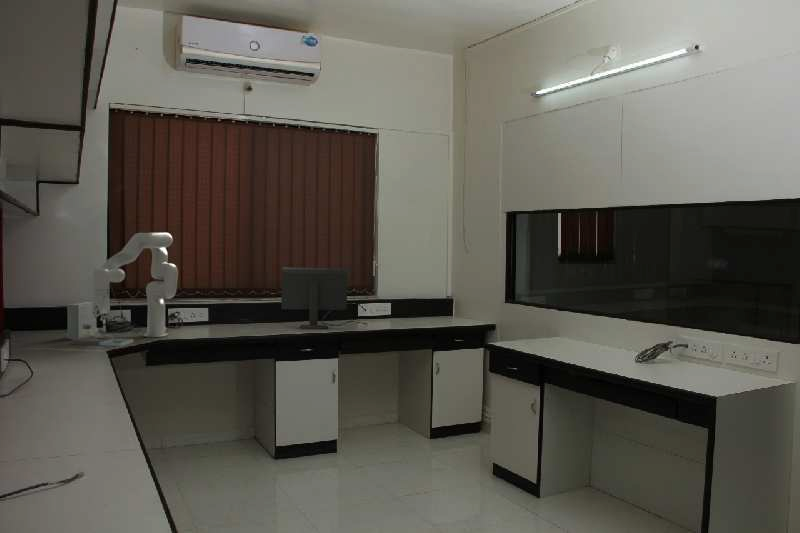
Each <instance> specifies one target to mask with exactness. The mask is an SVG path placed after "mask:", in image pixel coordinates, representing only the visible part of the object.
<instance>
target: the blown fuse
mask: <svg viewBox="0 0 800 533" xmlns="http://www.w3.org/2000/svg"><path fill="white" fill-rule="evenodd" d="M105 319H106V316H105V315H102V320H103V328H98V333H100V334H107V329H106V327H105V325H106V323H105Z"/></svg>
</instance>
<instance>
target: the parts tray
mask: <svg viewBox="0 0 800 533" xmlns="http://www.w3.org/2000/svg"><path fill="white" fill-rule="evenodd" d="M132 343H134V339H133V338H115V339H110V340H107V341H103V342H99V345H98V346H103V347H105V346H106V347H122V346H125V345H129V344H132Z"/></svg>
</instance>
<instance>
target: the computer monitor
mask: <svg viewBox="0 0 800 533" xmlns="http://www.w3.org/2000/svg"><path fill="white" fill-rule="evenodd" d="M348 272H349V270H348V268H335V267H334V268H331V267H330V268H329V267H328V268H325V267H322V268H321V267H286V266H285V267H284V266H283V267H282V268H281V296H280V297H281V299H280V300H281V301H280V302H281V303H280V304H281V306H280V307H281V310H309V317H308V318H309V319H308V320H309V323H308V324H307V323H305V324H304V323H303V324H301V325H299V329H300V328H320V329H319V330H326V329H328V326H327V325H328V324H319V323H318V321H319V320H318V318H319V315H318V314H319V310H322V311H347V310H348V305H347V304H348V274H349V273H348Z"/></svg>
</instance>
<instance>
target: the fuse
mask: <svg viewBox="0 0 800 533" xmlns="http://www.w3.org/2000/svg"><path fill="white" fill-rule="evenodd" d="M90 330H91V325H83V339H91V338H90Z"/></svg>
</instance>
